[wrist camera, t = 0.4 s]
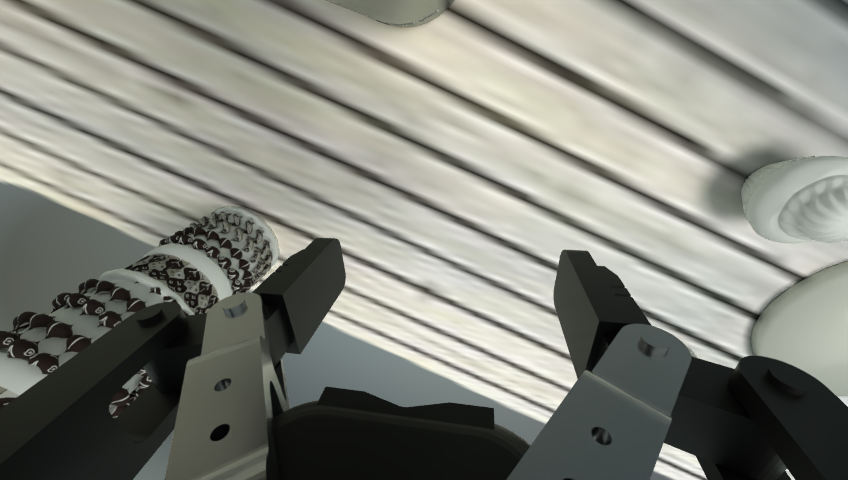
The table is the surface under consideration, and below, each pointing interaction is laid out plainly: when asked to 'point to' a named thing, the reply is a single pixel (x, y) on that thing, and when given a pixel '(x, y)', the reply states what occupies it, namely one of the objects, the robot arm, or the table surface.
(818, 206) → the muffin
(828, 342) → the white bowl
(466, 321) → the table surface
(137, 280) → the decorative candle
